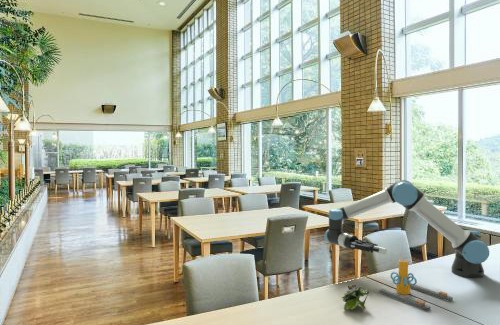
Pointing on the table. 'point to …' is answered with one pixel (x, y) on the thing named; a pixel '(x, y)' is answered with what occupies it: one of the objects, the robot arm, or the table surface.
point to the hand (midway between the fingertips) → (385, 251)
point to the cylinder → (403, 278)
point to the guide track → (418, 303)
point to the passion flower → (354, 297)
